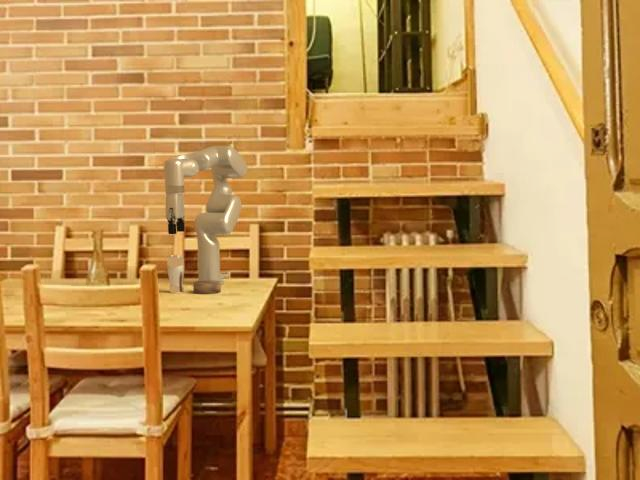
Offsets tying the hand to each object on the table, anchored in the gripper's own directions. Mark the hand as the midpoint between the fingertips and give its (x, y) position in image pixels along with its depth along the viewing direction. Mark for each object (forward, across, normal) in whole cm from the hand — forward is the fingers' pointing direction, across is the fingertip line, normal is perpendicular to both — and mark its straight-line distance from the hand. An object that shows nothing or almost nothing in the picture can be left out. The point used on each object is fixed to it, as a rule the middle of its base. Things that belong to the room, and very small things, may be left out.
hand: (176, 232), depth 288 cm
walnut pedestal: (+25, -4, +11) cm, 27 cm away
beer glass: (+25, -3, -2) cm, 25 cm away
